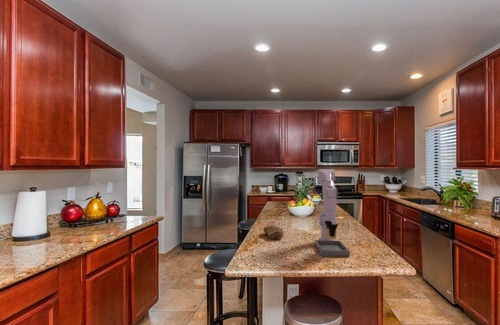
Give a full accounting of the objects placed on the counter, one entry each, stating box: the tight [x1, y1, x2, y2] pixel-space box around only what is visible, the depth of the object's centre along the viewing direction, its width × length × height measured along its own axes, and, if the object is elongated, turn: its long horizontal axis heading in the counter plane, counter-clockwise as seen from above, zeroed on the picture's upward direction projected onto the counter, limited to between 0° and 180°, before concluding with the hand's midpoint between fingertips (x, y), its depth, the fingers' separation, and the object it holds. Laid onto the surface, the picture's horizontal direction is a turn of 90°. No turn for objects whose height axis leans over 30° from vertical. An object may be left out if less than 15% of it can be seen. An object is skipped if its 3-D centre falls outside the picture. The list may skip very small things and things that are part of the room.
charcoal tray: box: [314, 239, 351, 258], centre depth 157 cm, size 20×14×3 cm
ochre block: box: [326, 229, 337, 240], centre depth 157 cm, size 5×5×5 cm
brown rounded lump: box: [263, 225, 284, 241], centre depth 190 cm, size 13×8×20 cm
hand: (331, 235), depth 157 cm, fingers closed on ochre block, 5 cm apart
